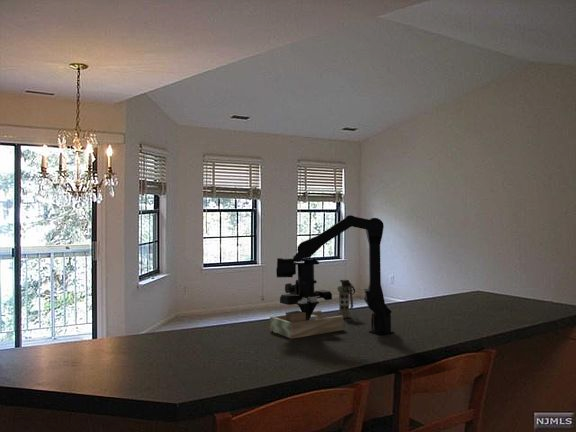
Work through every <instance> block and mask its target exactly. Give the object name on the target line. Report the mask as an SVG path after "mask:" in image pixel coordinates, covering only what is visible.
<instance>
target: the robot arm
mask: <svg viewBox="0 0 576 432" xmlns="http://www.w3.org/2000/svg"><path fill="white" fill-rule="evenodd" d="M351 227H352V228H357V229H362V230H365V232H366V233H365V235H366V238H367V242H368V270H369V271H368V273H369V274H368V275H369V277H368V279H369V282H368V288H364V289H363V290H364V299H363V300H364V302H365V303H366V305H367V306H368V309H369V310H371V311H372V312H373V313H371V320H370V321H371V322H370V323H371V324H370V325H371V329H369V330H368V333H372V334H376V335H380V336H382V335H383V336H384V335H389V334H394V333H395V330H392V315H391V313H392V310H391V309H390V308H389V306H388V305H387V304H386V303H385V302H386V301H385V297H384V293H383V288H382V283H381V282H382V280H381V279H382V277H381V272H382V271H381V269H382V268H381V242H382V238H383V233H384V228H385V227H384V222H383V220H381V219H380V218H379V217H370V218H369V219H368V218H363V217H359V216H354V215H352V214H349V215H346V216H345V217H344V218H343V219H341V220H340V221H338V222H336V223H334V225H332V226H331V227H329V228H327V229H326V230H324V231H323V232H321V233H320V234H318V235H316V236H313V237H311V238H308V239H306V240H304V241H302V242H300V243H299V244H298V246H297V249H296V251H297V252H296V254H295V255H293V257H292V258H283V257H278V258H277V259H276V261H277V262H276V268H275V269H276V278H294V275H297V279H296V280H295V284H292V283H290V282H289V283H285V284H284V292H285V294H281V296H280V297H279V303H280V304H283V305H288V306H292V305H297V306H298V308H300V311H301V312H305V313H306V321H307V320H309V319H310V317H311V315H312V313H313V311H315V309H316V307H317V305H318V304H320V302H319V301H317V299H324V301H329V300H333V294H332V292H331V291H330V290H325V289H320V290H315V284H317V282H318V281H317V280H316V279H315V265H319V264H320V261H318V259H317V258H316V257H315V256H314V257H313V258H312V259H309V258H311V257H312V256H313V255H314V254H315V253H316V252H317V251H319V249H320V248H321V247H323V246H324V244H326V243H328V242H330V241H331V240H333V239H334V238H336V237H337V236H339V235H341V234H342V233H343V232H346V230H349V229H350V228H351ZM303 259H304V260H303ZM301 260H303V261H302V262H301Z"/></svg>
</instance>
